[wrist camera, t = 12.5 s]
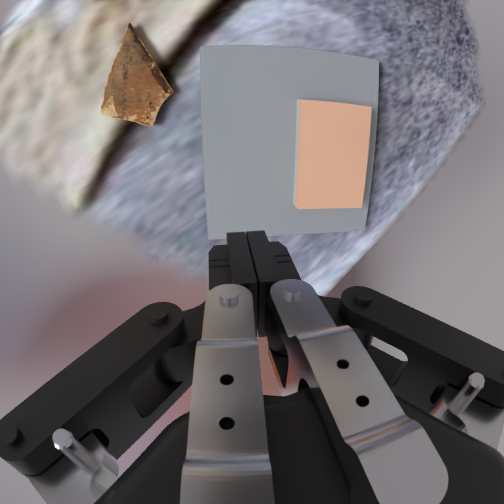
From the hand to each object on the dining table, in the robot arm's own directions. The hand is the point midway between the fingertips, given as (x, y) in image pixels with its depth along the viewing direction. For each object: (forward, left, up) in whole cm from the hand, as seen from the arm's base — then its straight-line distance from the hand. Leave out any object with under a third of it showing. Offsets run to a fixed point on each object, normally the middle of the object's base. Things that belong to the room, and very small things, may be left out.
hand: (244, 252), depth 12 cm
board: (-1, +8, -23) cm, 24 cm away
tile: (0, +8, -21) cm, 22 cm away
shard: (-9, -10, -24) cm, 27 cm away
